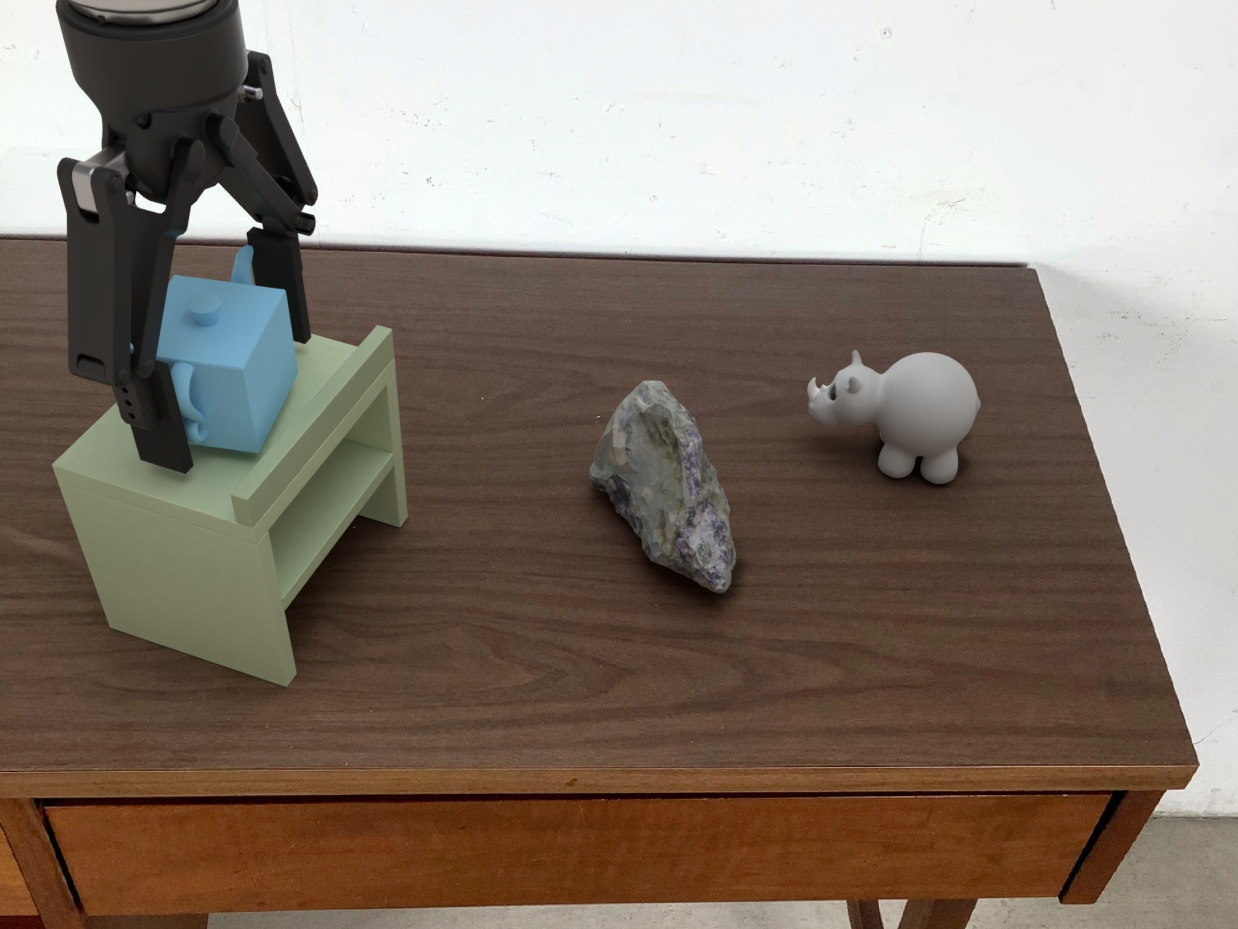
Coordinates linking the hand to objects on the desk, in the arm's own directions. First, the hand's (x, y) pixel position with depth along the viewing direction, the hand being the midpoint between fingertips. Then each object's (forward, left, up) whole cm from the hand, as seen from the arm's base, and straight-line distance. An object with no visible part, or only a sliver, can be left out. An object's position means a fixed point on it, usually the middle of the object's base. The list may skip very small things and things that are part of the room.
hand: (230, 395), depth 71 cm
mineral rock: (+22, +13, -14) cm, 29 cm away
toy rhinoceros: (+34, +28, -14) cm, 46 cm away
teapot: (0, 0, -1) cm, 1 cm away
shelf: (0, 0, -14) cm, 14 cm away
